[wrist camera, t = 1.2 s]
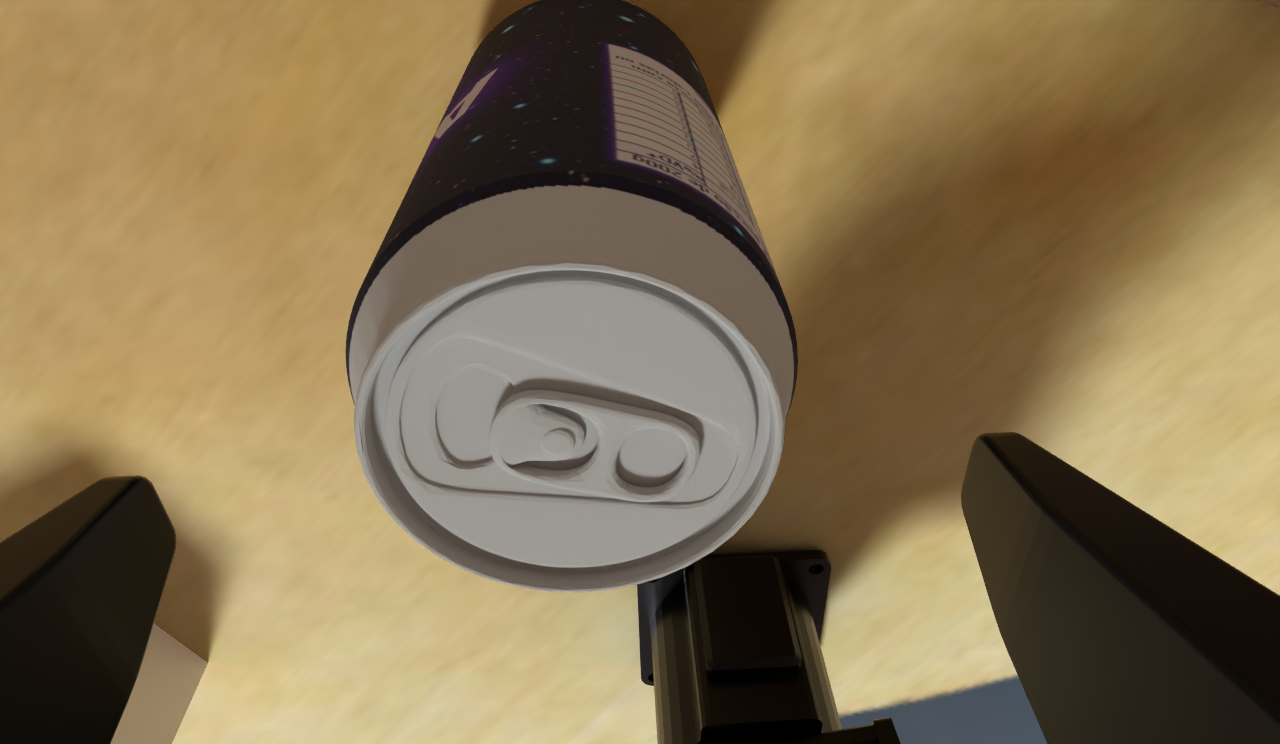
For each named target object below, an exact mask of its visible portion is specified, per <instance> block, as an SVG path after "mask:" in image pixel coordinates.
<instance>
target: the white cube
mask: <svg viewBox="0 0 1280 744" xmlns="http://www.w3.org/2000/svg"><path fill="white" fill-rule="evenodd" d="M207 664H208V662H206V661H205V660H203V659H202V658H201V657H199V656H198V655H197V654H195V653H194V652H192V651H191V650H190V649H188V648H187V647H186V646H184V645H183V644H181V643H180V642H179V641H177V640H176V639H175V638H173V637H172V636H170V635H169V634H168V633H166V632H165V631H164V630H162V629H161V628H159V627H158V626H157V625H155V624H154V625H153V629H152V632H151V635H150V639H149V642H148V646H147V649H146V652H145V656H144V659H143V662H142V665H141V668H140V671H139V674H138V677H137V680H136V682H135V685H134V688H133V690H132V693H131V695H130V698H129V701H128V703H127V705H126V708H125V710H124V713H123V715H122V717H121V720H120V722H119V725H118V727H117V729H116V732H115V734H114V737H113V739H112V741H111V744H172V742H173V740H174V737H175V735H176V733H177V731H178V728H179V726H180V724H181V722H182V719H183V717H184V715H185V713H186V711H187V708H188V706H189V704H190V702H191V699H192V697H193V695H194V693H195V690H196V688H197V686H198V684H199V682H200V679H201V677H202V675H203V673H204V670H205V668H206V666H207Z"/></svg>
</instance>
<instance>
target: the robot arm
mask: <svg viewBox="0 0 1280 744" xmlns="http://www.w3.org/2000/svg"><path fill="white" fill-rule="evenodd" d="M961 503H962V509H963V513H964V516H965V520H966V523H967V526H968V530H969V533H970V536H971V539H972V543H973V546H974V549H975V553H976V556H977V559H978V563H979V566H980V569H981V573H982V576H983V579H984V582H985V586H986V589H987V592H988V596H989V599H990V602H991V606H992V609H993V612H994V615H995V618H996V621H997V624H998V627H999V630H1000V633H1001V636H1002V638H1003V641H1004V643H1005V646H1006V648H1007V651H1008V653H1009V656H1010V658H1011V660H1012V662H1013V665H1014V667H1015V669H1016V672H1017V674H1018V676H1019V679H1020V681H1021V683H1022V686H1023V688H1024V690H1025V693H1026V695H1027V697H1028V699H1029V702H1030V704H1031V706H1032V709H1033V711H1034V713H1035V716H1036V718H1037V720H1038V723H1039V725H1040V727H1041V729H1042V732H1043V734H1044V736H1045V739H1046V741H1047V743H1048V744H1280V595H1278V594H1276V593H1275V592H1273V591H1271V590H1270V589H1268V588H1267V587H1265V586H1263V585H1262V584H1260V583H1259V582H1257V581H1255V580H1254V579H1252V578H1251V577H1249V576H1247V575H1246V574H1244V573H1243V572H1241V571H1239V570H1238V569H1236V568H1235V567H1233V566H1231V565H1230V564H1228V563H1227V562H1225V561H1223V560H1222V559H1220V558H1218V557H1217V556H1215V555H1214V554H1212V553H1210V552H1209V551H1207V550H1206V549H1204V548H1202V547H1201V546H1199V545H1198V544H1196V543H1194V542H1193V541H1191V540H1190V539H1188V538H1186V537H1185V536H1183V535H1182V534H1180V533H1178V532H1177V531H1175V530H1174V529H1172V528H1170V527H1169V526H1167V525H1166V524H1164V523H1162V522H1161V521H1159V520H1157V519H1156V518H1154V517H1153V516H1151V515H1149V514H1148V513H1146V512H1145V511H1143V510H1141V509H1140V508H1138V507H1137V506H1135V505H1133V504H1132V503H1130V502H1129V501H1127V500H1125V499H1124V498H1122V497H1121V496H1119V495H1117V494H1116V493H1114V492H1113V491H1111V490H1109V489H1108V488H1106V487H1104V486H1103V485H1101V484H1100V483H1098V482H1096V481H1095V480H1093V479H1092V478H1090V477H1088V476H1087V475H1085V474H1084V473H1082V472H1080V471H1079V470H1077V469H1076V468H1074V467H1072V466H1071V465H1069V464H1068V463H1066V462H1064V461H1063V460H1061V459H1060V458H1058V457H1056V456H1055V455H1053V454H1051V453H1050V452H1048V451H1047V450H1045V449H1043V448H1042V447H1040V446H1039V445H1037V444H1035V443H1034V442H1032V441H1031V440H1029V439H1027V438H1026V437H1024V436H1022V435H1020V434H1018V433H1014V432H1004V433H985V434H982V435H980V436H978V437H977V438H976V440H975V442H974V444H973V447H972V451H971V455H970V459H969V462H968V466H967V470H966V474H965V478H964V482H963V486H962V491H961ZM175 549H176V534H175V530H174V527H173V525H172V523H171V521H170V519H169V517H168V515H167V513H166V510H165V508H164V506H163V504H162V502H161V500H160V498H159V496H158V494H157V492H156V490H155V488H154V486H153V485H152V483H151V482H150V481H149V480H148V479H147V478H145V477H142V476H118V477H107V478H103V479H100V480H99V481H97V482H95V483H94V484H92V485H91V486H89V487H87V488H86V489H84V490H83V491H81V492H79V493H78V494H76V495H75V496H73V497H72V498H70V499H68V500H67V501H65V502H64V503H62V504H61V505H59V506H57V507H56V508H54V509H53V510H51V511H49V512H48V513H46V514H45V515H43V516H42V517H40V518H38V519H37V520H35V521H34V522H32V523H31V524H29V525H27V526H26V527H24V528H23V529H21V530H19V531H18V532H16V533H15V534H13V535H12V536H10V537H8V538H7V539H5V540H4V541H2V542H1V543H0V744H111V741H112V739H113V737H114V734H115V732H116V729H117V727H118V725H119V722H120V720H121V717H122V715H123V713H124V710H125V708H126V705H127V703H128V701H129V698H130V695H131V693H132V690H133V688H134V685H135V682H136V680H137V677H138V674H139V671H140V668H141V665H142V662H143V659H144V656H145V652H146V649H147V646H148V642H149V639H150V635H151V632H152V629H153V625H154V622H155V618H156V615H157V612H158V608H159V605H160V601H161V598H162V595H163V591H164V588H165V584H166V581H167V578H168V574H169V571H170V567H171V564H172V561H173V557H174V554H175ZM814 564H817V565H814ZM830 572H831V565H830V561H829V558H828V555H827V554H826V553H825V552H823V551H821V550H803V551H783V552H763V553H743V554H723V555H706V556H704V557H702V558H701V559H699V560H697V561H696V562H694V563H692V564H690V565H689V566H687V567H684V568H682V569H680V570H677V571H675V572H673V573H670V574H668V575H666V576H663V577H661V578H657V579H654V580H651V581H647V582H644V583H640V584H637V590H638V614H639V638H640V662H641V679H642V682H644V683H645V684H647V685H651V686H654V691H655V707H656V723H657V739H658V744H900V741H899V738H898V736H897V733H896V730H895V727H894V725H893V722H892V719H891V718H883V719H878V720H873V721H872V723H873V724H869V725H864V726H858V727H853V728H846V729H842V727H841V724H840V720H839V716H838V712H837V708H836V704H835V700H834V697H833V693H832V689H831V685H830V681H829V678H828V674H827V670H826V666H825V662H824V658H823V655H822V651H821V647H820V643H819V642H820V636H821V630H822V623H823V617H824V610H825V604H826V598H827V591H828V585H829V578H830Z"/></svg>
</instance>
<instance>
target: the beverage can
mask: <svg viewBox="0 0 1280 744" xmlns="http://www.w3.org/2000/svg"><path fill="white" fill-rule="evenodd" d="M797 365H798V354H797V341H796V334H795V329H794V324H793V320H792V316H791V313H790V310H789V307H788V304H787V302H786V299H785V296H784V294H783V291H782V288H781V285H780V283H779V280H778V277H777V275H776V272H775V269H774V267H773V264H772V261H771V259H770V256H769V253H768V251H767V248H766V245H765V243H764V240H763V237H762V235H761V232H760V229H759V226H758V224H757V221H756V218H755V216H754V213H753V210H752V208H751V205H750V202H749V200H748V197H747V194H746V192H745V189H744V186H743V184H742V181H741V178H740V176H739V173H738V170H737V167H736V165H735V162H734V159H733V157H732V154H731V151H730V149H729V146H728V143H727V141H726V138H725V135H724V133H723V130H722V127H721V125H720V122H719V119H718V117H717V114H716V111H715V108H714V106H713V103H712V100H711V98H710V95H709V92H708V90H707V87H706V84H705V82H704V79H703V76H702V74H701V72H700V70H699V67H698V65H697V64H696V62H695V60H694V58H693V56H692V55H691V53H690V52H689V50H688V49H687V48H686V46H685V45H684V44H683V42H682V41H681V40H680V39H679V38H678V37H677V36H676V34H675V33H674V32H673V31H672V30H670V29H669V28H668V27H667V26H666V25H665V24H664V23H662V22H661V21H660V20H659V19H657V18H656V17H654V16H653V15H651V14H650V13H648V12H646V11H644V10H643V9H641V8H639V7H637V6H635V5H632V4H630V3H627V2H625V1H622V0H541V1H538V2H535V3H532V4H530V5H528V6H526V7H524V8H522V9H520V10H518V11H516V12H515V13H513V14H512V15H510V16H509V17H507V18H506V19H505V20H503V21H502V22H501V23H500V24H498V25H497V26H496V27H495V28H494V29H493V30H492V31H491V32H490V33H489V34H488V36H487V37H486V38H485V39H484V40H483V42H482V43H481V44H480V46H479V47H478V48H477V50H476V52H475V53H474V55H473V56H472V58H471V60H470V62H469V64H468V66H467V68H466V70H465V73H464V75H463V77H462V79H461V81H460V83H459V85H458V87H457V89H456V91H455V93H454V95H453V97H452V99H451V102H450V104H449V106H448V108H447V110H446V112H445V114H444V116H443V118H442V120H441V122H440V124H439V126H438V128H437V131H436V133H435V135H434V137H433V139H432V141H431V143H430V145H429V147H428V149H427V151H426V153H425V155H424V157H423V159H422V162H421V164H420V166H419V168H418V170H417V172H416V174H415V176H414V178H413V180H412V182H411V184H410V186H409V188H408V191H407V193H406V195H405V197H404V199H403V201H402V203H401V205H400V207H399V209H398V211H397V213H396V215H395V217H394V220H393V222H392V224H391V226H390V228H389V230H388V232H387V234H386V236H385V238H384V240H383V242H382V244H381V246H380V248H379V251H378V253H377V255H376V257H375V259H374V261H373V263H372V265H371V267H370V269H369V271H368V273H367V275H366V277H365V280H364V282H363V284H362V286H361V288H360V290H359V292H358V295H357V297H356V300H355V303H354V305H353V309H352V313H351V316H350V320H349V325H348V331H347V340H346V367H347V375H348V382H349V386H350V390H351V395H352V398H353V401H354V404H355V413H354V429H355V437H356V445H357V452H358V456H359V458H360V461H361V464H362V467H363V470H364V473H365V476H366V479H367V481H368V482H369V484H370V486H371V488H372V490H373V491H374V493H375V495H376V497H377V498H378V500H379V502H380V503H381V504H382V506H383V507H384V508H385V509H386V511H387V512H388V513H389V514H390V516H391V517H392V518H393V519H394V521H395V522H396V523H397V524H398V525H399V526H400V527H402V528H403V529H404V530H405V531H406V532H407V533H408V534H409V535H410V536H411V537H412V538H414V539H415V540H416V541H417V542H418V543H420V544H421V545H423V546H424V547H426V548H427V549H429V550H430V551H431V552H433V553H434V554H436V555H437V556H439V557H440V558H442V559H444V560H446V561H448V562H450V563H452V564H454V565H456V566H458V567H460V568H462V569H464V570H466V571H468V572H471V573H474V574H476V575H479V576H482V577H484V578H487V579H490V580H492V581H496V582H500V583H504V584H508V585H512V586H516V587H521V588H528V589H535V590H542V591H551V592H590V591H604V590H611V589H616V588H622V587H628V586H633V585H637V584H640V583H644V582H647V581H651V580H654V579H657V578H661V577H663V576H666V575H668V574H670V573H673V572H675V571H677V570H680V569H682V568H684V567H687V566H689V565H690V564H692V563H694V562H696V561H697V560H699V559H701V558H702V557H704V556H706V555H708V554H709V553H711V552H713V551H714V550H715V549H716V548H718V547H719V546H720V545H722V544H723V543H724V542H725V541H727V540H728V539H729V538H731V537H732V536H733V535H734V534H735V533H736V532H737V531H738V530H739V529H740V528H741V527H742V526H743V525H744V524H745V523H746V522H747V521H748V520H749V519H750V518H751V516H752V515H753V514H754V512H755V511H756V509H757V508H758V506H759V505H760V504H761V502H762V501H763V499H764V498H765V496H766V495H767V493H768V490H769V488H770V486H771V484H772V482H773V480H774V478H775V475H776V473H777V470H778V466H779V462H780V458H781V455H782V451H783V446H784V438H785V420H786V417H787V414H788V411H789V408H790V406H791V403H792V398H793V394H794V390H795V385H796V378H797Z"/></svg>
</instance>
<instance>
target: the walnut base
mask: <svg viewBox="0 0 1280 744" xmlns="http://www.w3.org/2000/svg"><path fill="white" fill-rule="evenodd" d="M1256 1H1260V2H1263V3H1266V4H1269V5H1273V6H1276V7H1279V8H1280V0H1256Z"/></svg>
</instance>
